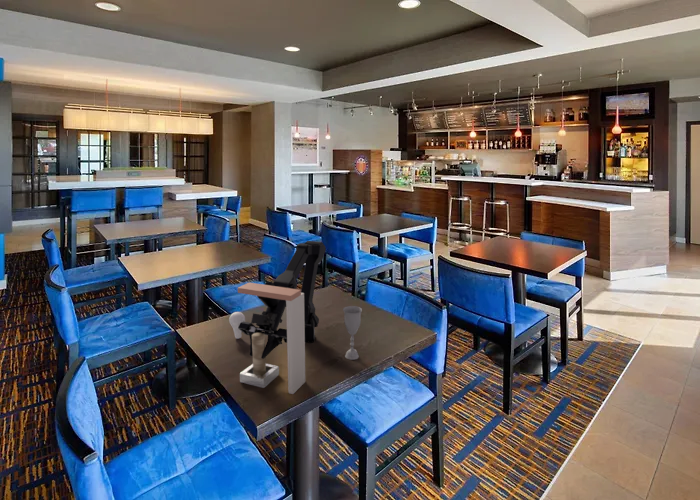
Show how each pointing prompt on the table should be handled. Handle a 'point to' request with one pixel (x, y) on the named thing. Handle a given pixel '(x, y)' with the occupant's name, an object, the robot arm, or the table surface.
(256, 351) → the peg
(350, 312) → the chalice
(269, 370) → the socket
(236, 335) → the lightbulb
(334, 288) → the table surface
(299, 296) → the inverted l-shaped panel
